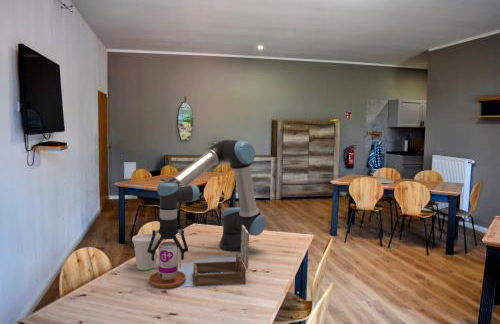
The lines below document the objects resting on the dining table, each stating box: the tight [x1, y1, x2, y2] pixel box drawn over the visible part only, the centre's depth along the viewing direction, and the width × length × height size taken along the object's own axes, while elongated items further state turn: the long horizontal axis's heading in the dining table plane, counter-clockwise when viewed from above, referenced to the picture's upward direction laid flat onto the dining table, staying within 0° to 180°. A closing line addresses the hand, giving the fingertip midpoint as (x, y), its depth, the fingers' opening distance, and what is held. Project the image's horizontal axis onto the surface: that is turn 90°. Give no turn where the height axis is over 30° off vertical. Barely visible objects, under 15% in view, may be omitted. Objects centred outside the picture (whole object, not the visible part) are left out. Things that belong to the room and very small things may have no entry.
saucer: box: [148, 270, 187, 289], centre depth 167 cm, size 16×16×3 cm
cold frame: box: [192, 225, 250, 287], centre depth 172 cm, size 15×23×23 cm, turn 101°
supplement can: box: [158, 240, 179, 280], centre depth 166 cm, size 8×8×15 cm
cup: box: [131, 233, 160, 272], centre depth 182 cm, size 12×12×15 cm
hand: (167, 267), depth 167 cm, fingers open, 10 cm apart
